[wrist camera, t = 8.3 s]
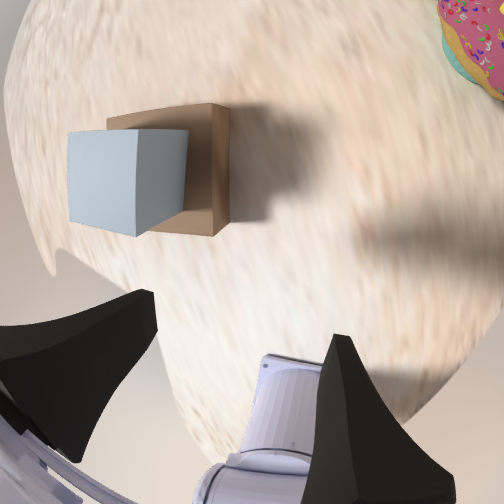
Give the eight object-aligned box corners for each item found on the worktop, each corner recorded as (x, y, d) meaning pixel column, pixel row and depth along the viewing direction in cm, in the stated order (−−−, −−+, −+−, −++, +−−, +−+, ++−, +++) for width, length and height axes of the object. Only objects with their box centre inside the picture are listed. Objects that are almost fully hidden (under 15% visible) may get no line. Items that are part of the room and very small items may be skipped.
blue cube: (182, 211, 17) (135, 237, 13) (121, 200, 18) (69, 221, 14) (189, 130, 15) (138, 129, 11) (123, 129, 16) (68, 132, 12)
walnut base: (231, 221, 20) (213, 236, 17) (140, 215, 22) (113, 227, 19) (231, 109, 17) (211, 103, 14) (135, 118, 19) (106, 118, 16)
